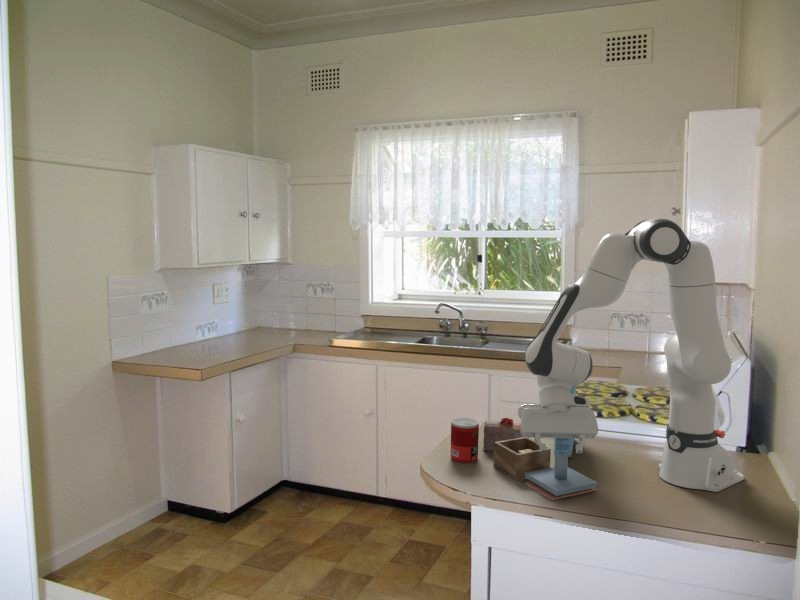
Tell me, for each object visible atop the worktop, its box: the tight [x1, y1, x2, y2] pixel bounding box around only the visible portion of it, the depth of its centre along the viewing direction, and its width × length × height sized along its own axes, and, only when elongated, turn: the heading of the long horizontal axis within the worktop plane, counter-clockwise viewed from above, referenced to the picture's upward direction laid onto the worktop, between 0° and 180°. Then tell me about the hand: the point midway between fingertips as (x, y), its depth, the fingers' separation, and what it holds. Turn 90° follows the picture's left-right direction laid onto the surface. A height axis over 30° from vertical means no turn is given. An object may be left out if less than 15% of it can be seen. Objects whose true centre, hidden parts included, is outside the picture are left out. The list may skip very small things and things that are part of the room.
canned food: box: [450, 417, 480, 464], centre depth 189 cm, size 8×8×11 cm
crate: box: [493, 437, 552, 481], centre depth 181 cm, size 11×11×7 cm
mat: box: [524, 480, 597, 501], centre depth 170 cm, size 14×11×1 cm
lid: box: [525, 453, 598, 496], centre depth 169 cm, size 13×13×8 cm
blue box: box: [553, 386, 577, 458], centre depth 197 cm, size 20×5×23 cm, turn 162°
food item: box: [482, 417, 530, 452], centre depth 196 cm, size 14×8×10 cm, turn 78°
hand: (561, 451), depth 170 cm, fingers open, 8 cm apart
